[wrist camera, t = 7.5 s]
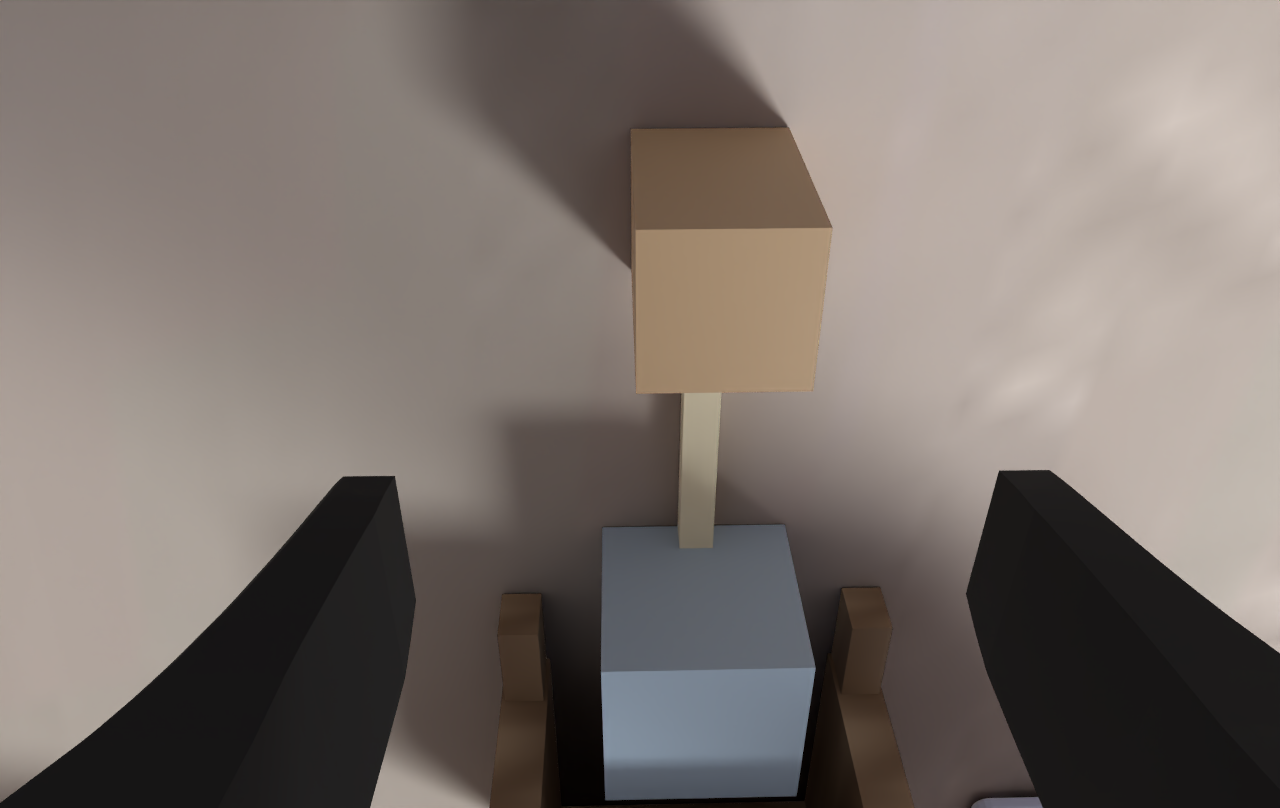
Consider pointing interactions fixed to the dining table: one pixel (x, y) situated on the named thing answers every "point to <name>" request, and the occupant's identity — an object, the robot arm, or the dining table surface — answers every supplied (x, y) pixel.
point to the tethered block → (712, 472)
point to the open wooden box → (834, 803)
